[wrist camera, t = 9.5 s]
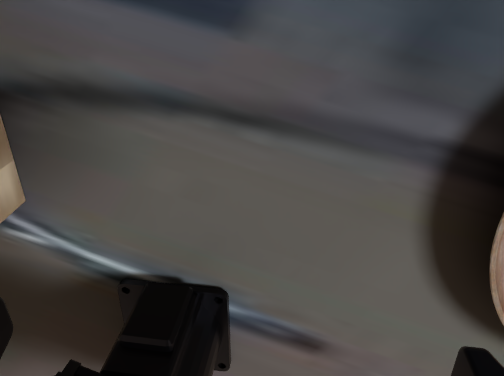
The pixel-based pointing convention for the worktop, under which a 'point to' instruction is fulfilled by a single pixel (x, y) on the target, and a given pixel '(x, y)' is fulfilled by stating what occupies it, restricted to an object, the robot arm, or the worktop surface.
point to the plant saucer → (498, 270)
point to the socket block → (8, 179)
